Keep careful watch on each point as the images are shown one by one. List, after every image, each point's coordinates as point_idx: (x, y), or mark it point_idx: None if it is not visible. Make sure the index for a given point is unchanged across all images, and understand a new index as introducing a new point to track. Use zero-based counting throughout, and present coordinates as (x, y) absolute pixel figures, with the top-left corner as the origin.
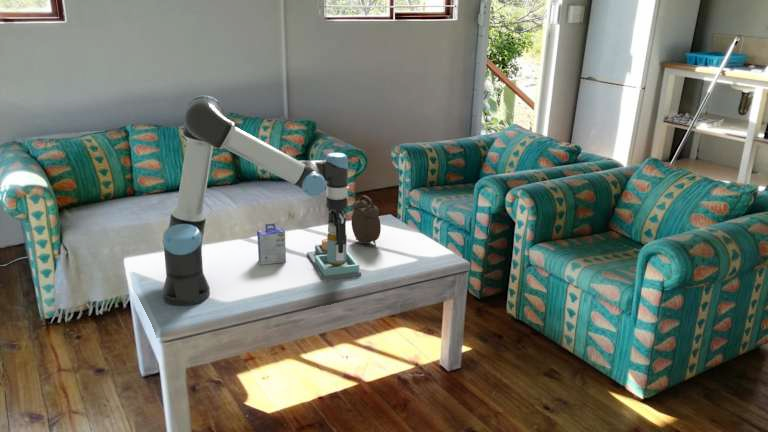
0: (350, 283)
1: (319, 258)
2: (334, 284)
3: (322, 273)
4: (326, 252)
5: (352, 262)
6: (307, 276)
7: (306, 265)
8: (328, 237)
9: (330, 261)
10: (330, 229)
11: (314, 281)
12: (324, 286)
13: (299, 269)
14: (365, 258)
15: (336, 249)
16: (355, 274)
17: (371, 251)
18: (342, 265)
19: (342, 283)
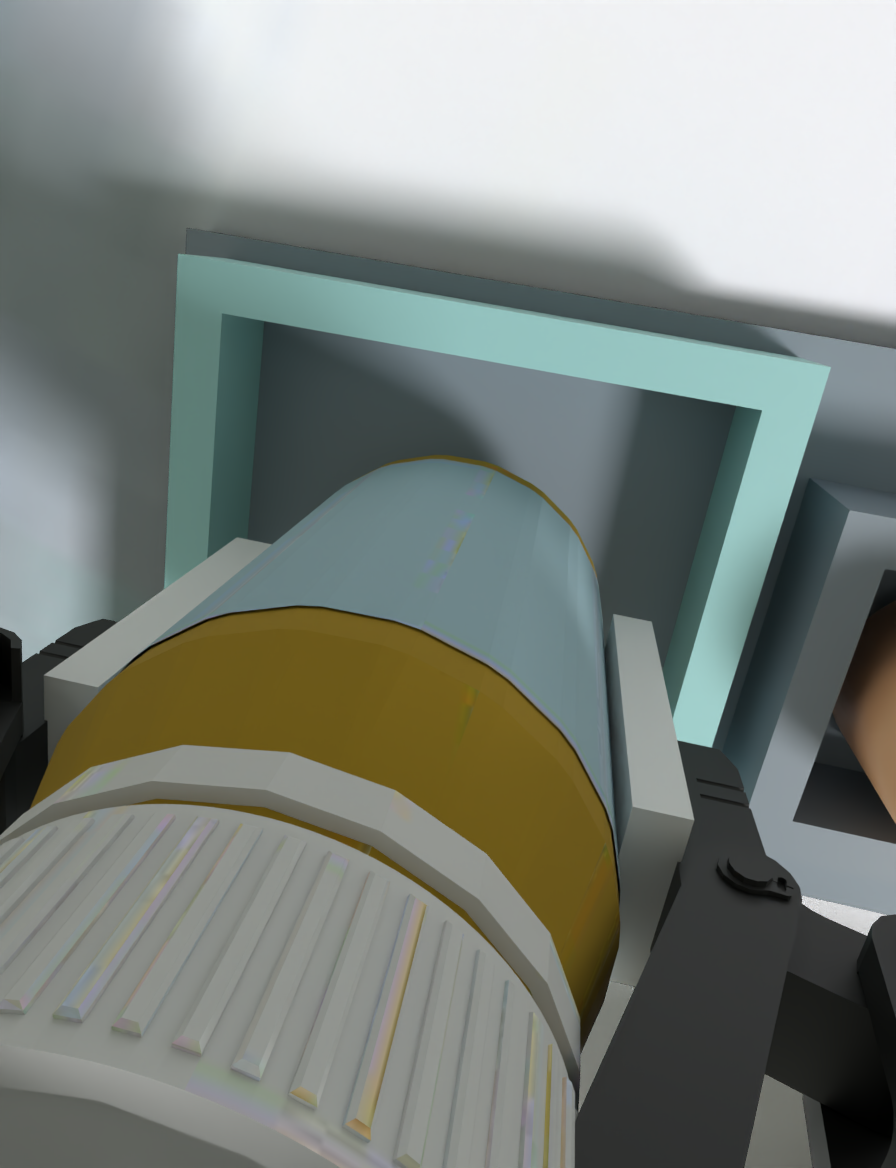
0: (17, 512)
1: (662, 387)
2: (44, 311)
3: (319, 267)
4: (812, 613)
5: None
6: (435, 34)
7: (849, 207)
8: (286, 639)
9: (368, 473)
10: (40, 883)
11: (222, 70)
12: (22, 146)
13: (765, 9)
14: (602, 1005)
15: (132, 618)
16: None
17: (749, 1153)
18: None
19: (43, 423)
